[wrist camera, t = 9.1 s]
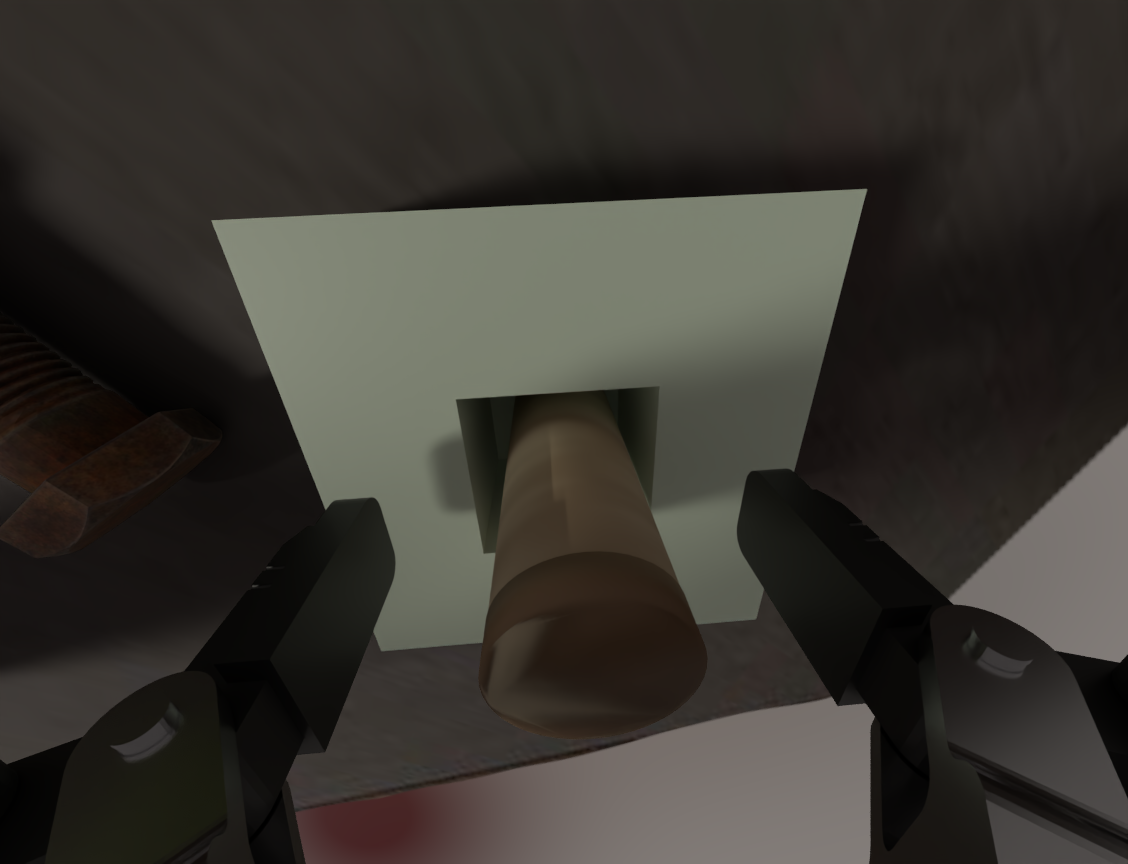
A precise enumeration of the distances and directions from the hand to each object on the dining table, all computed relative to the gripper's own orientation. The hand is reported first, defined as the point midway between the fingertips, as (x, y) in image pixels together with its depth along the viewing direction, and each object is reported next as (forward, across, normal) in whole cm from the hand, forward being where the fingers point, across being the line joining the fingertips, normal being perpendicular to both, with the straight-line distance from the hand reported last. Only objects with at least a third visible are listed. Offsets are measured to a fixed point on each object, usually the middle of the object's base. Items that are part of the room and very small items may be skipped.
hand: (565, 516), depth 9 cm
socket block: (+7, 0, 0) cm, 7 cm away
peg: (+6, 0, 0) cm, 6 cm away
